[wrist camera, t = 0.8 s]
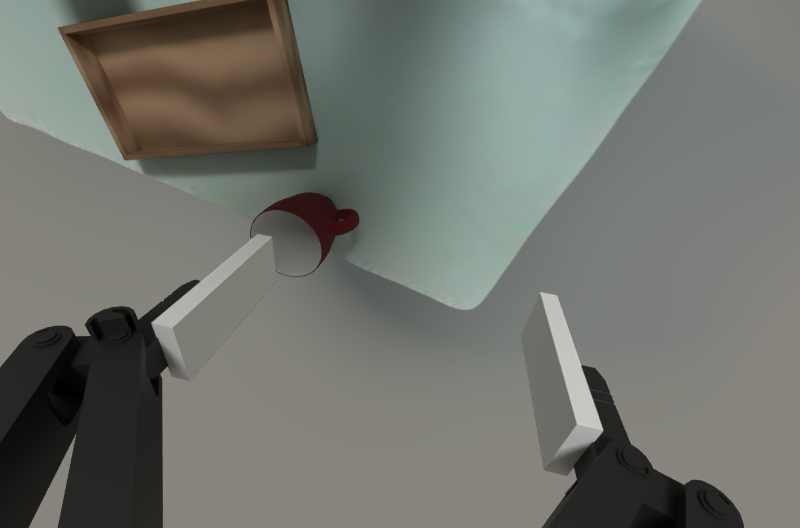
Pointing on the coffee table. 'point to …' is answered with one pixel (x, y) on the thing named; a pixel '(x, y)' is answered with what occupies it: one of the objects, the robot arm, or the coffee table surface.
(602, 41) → the coffee table surface
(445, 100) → the coffee table surface
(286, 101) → the tray
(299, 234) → the mug
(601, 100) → the coffee table surface
